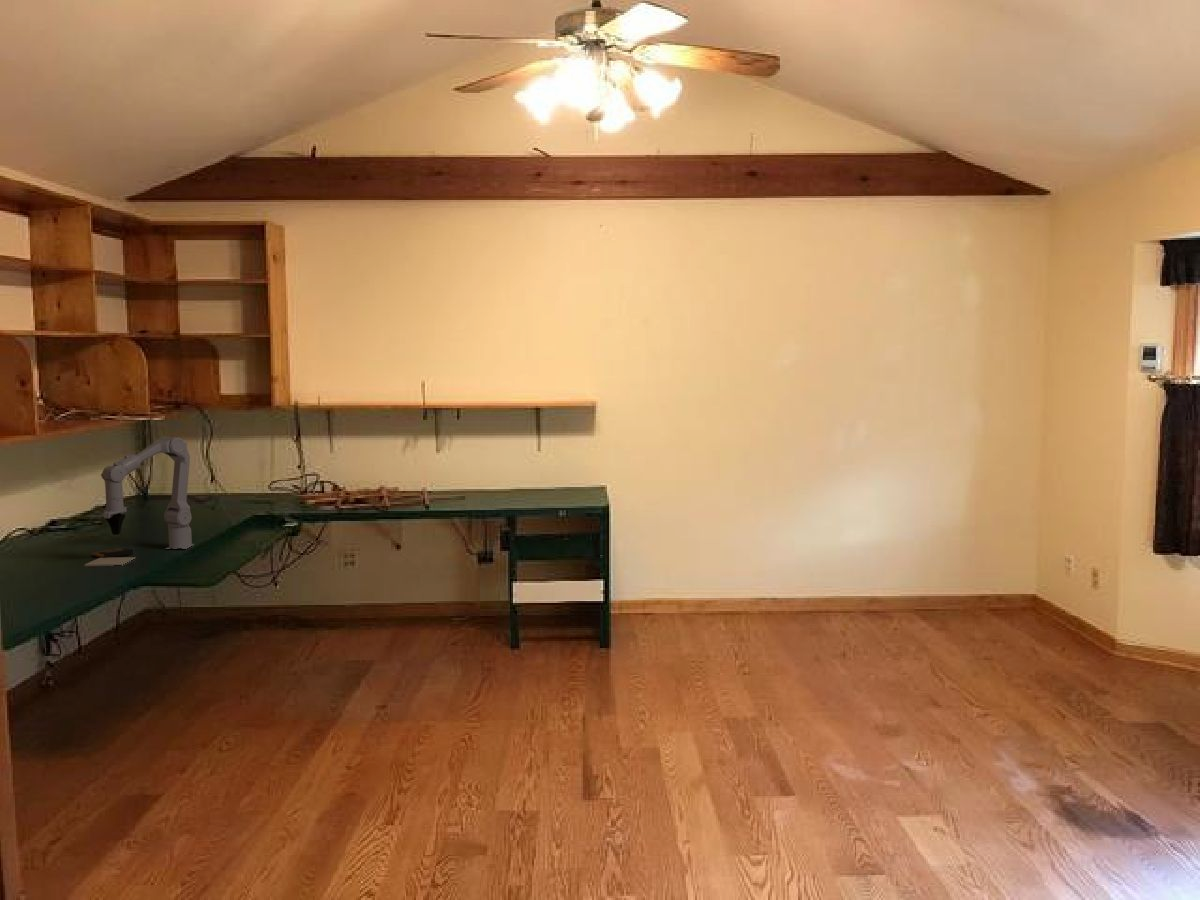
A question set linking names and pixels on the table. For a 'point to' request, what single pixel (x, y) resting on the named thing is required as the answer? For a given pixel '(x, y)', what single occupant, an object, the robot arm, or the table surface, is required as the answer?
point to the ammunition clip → (113, 553)
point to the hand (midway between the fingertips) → (116, 534)
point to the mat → (110, 561)
